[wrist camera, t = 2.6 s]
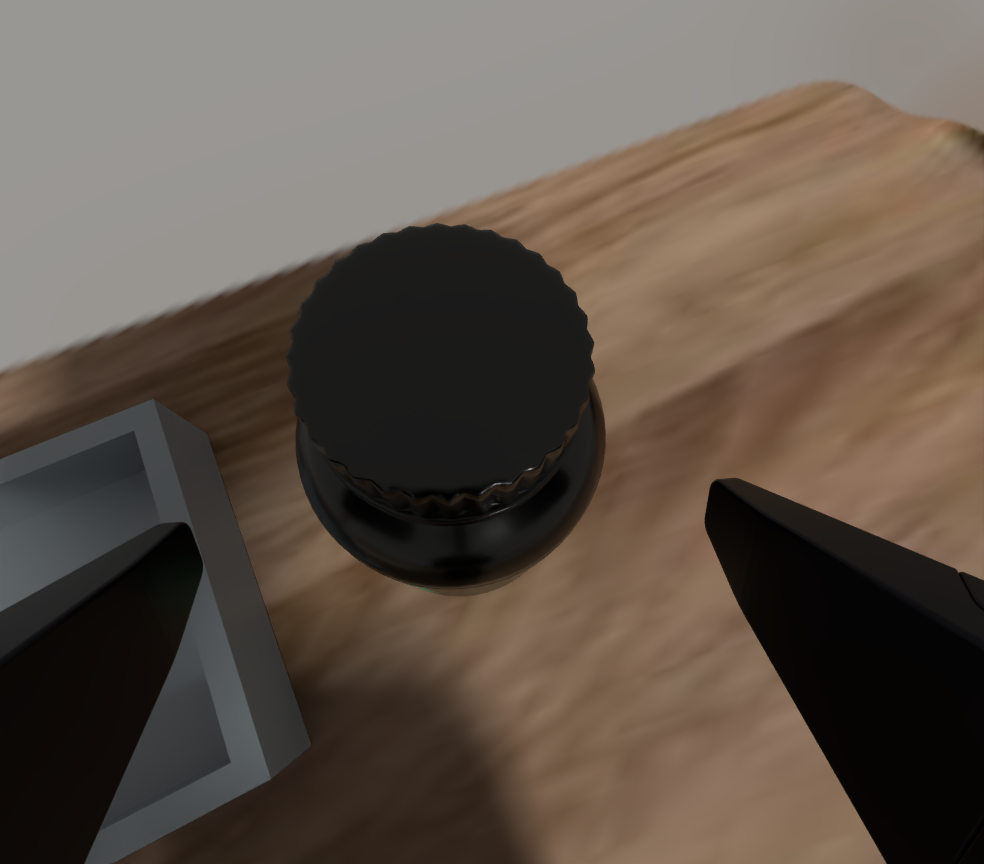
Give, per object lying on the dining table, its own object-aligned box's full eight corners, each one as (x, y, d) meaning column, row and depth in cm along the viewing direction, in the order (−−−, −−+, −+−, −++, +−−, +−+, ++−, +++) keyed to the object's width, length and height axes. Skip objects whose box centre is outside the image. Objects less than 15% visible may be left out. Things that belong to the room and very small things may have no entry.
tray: (311, 745, 17) (270, 779, 13) (-81, 952, 15) (-241, 1051, 12) (207, 433, 20) (153, 398, 17) (-127, 571, 18) (-263, 562, 15)
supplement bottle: (427, 637, 18) (342, 686, 7) (336, 470, 20) (144, 281, 8) (590, 531, 19) (756, 417, 8) (491, 383, 21) (509, 116, 10)
